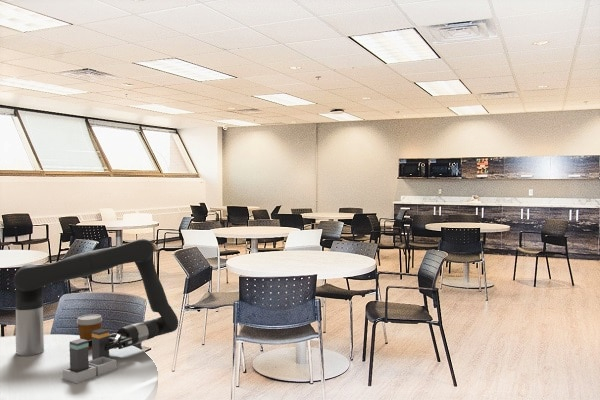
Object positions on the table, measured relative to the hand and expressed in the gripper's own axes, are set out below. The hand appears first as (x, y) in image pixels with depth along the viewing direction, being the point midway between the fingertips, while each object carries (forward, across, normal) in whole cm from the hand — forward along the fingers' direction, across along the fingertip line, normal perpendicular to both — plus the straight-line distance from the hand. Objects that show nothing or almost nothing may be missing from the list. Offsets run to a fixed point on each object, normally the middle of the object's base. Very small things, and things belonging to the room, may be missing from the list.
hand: (96, 345), depth 188 cm
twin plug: (+12, +8, +6) cm, 16 cm away
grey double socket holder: (+8, +8, +7) cm, 13 cm away
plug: (-2, 0, +7) cm, 7 cm away
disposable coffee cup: (-12, -20, +7) cm, 24 cm away
